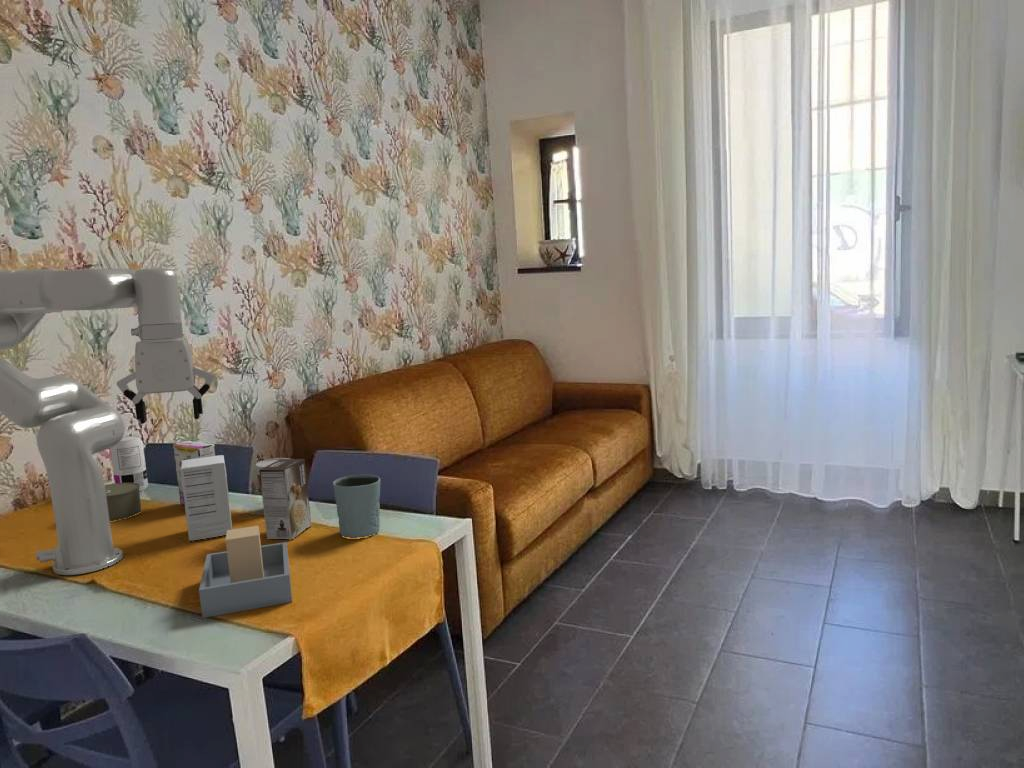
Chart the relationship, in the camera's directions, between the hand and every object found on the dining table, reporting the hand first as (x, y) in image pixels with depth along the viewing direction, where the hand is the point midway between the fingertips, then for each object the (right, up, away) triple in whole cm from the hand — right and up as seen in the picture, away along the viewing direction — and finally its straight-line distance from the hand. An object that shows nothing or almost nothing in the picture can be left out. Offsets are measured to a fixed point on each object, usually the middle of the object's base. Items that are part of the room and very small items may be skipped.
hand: (170, 420), depth 144 cm
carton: (+19, -30, -10) cm, 36 cm away
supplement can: (-40, -23, +63) cm, 78 cm away
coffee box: (+17, -27, +20) cm, 38 cm away
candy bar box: (-13, -24, +45) cm, 53 cm away
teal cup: (+34, -26, +18) cm, 46 cm away
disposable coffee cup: (+9, -24, +39) cm, 46 cm away
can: (-33, -26, +41) cm, 58 cm away
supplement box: (-2, -27, +24) cm, 36 cm away
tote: (+19, -31, -9) cm, 37 cm away
